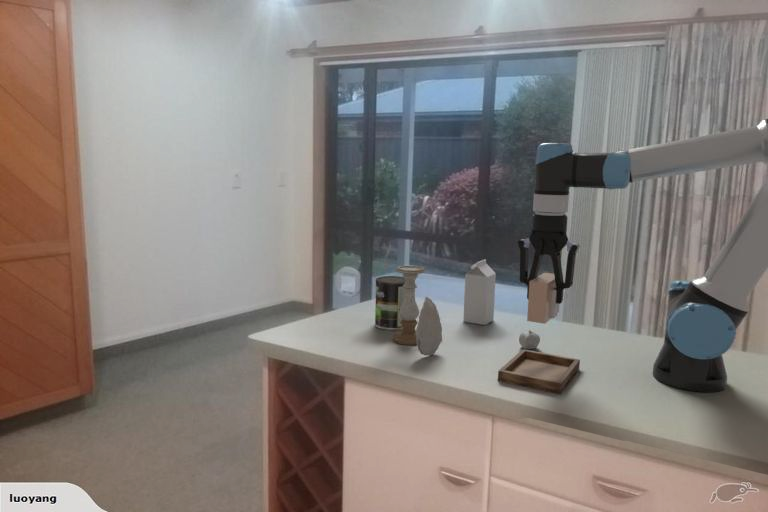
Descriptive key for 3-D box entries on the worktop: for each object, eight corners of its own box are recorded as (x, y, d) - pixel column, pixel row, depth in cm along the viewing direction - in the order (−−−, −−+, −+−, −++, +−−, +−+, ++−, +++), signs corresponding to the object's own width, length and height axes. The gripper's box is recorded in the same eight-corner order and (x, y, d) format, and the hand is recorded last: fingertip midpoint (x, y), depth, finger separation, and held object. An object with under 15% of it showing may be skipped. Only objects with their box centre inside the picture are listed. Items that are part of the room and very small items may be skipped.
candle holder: (429, 343, 157) (432, 269, 153) (400, 346, 154) (401, 271, 150) (416, 334, 165) (418, 264, 161) (387, 337, 162) (389, 265, 158)
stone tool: (422, 361, 143) (424, 302, 140) (412, 358, 145) (413, 299, 142) (443, 352, 150) (445, 295, 147) (433, 349, 152) (435, 293, 149)
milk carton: (493, 320, 180) (496, 260, 177) (484, 325, 174) (487, 263, 171) (472, 317, 184) (475, 258, 181) (463, 322, 178) (465, 261, 175)
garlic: (538, 353, 151) (539, 333, 150) (517, 350, 152) (518, 331, 152) (540, 346, 156) (541, 327, 155) (519, 343, 158) (520, 325, 157)
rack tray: (579, 369, 139) (579, 359, 139) (560, 394, 124) (561, 383, 123) (522, 358, 146) (522, 349, 146) (497, 380, 131) (498, 370, 130)
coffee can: (380, 331, 167) (381, 283, 164) (370, 322, 176) (371, 276, 174) (414, 329, 170) (415, 282, 168) (402, 319, 180) (403, 275, 177)
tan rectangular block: (559, 311, 137) (561, 274, 135) (545, 323, 127) (547, 283, 125) (542, 309, 139) (544, 272, 137) (527, 321, 129) (529, 281, 127)
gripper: (593, 214, 128) (585, 317, 132) (517, 210, 136) (512, 306, 140) (586, 217, 121) (578, 325, 125) (507, 212, 130) (502, 313, 134)
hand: (543, 315), depth 133 cm, fingers closed on tan rectangular block, 4 cm apart
